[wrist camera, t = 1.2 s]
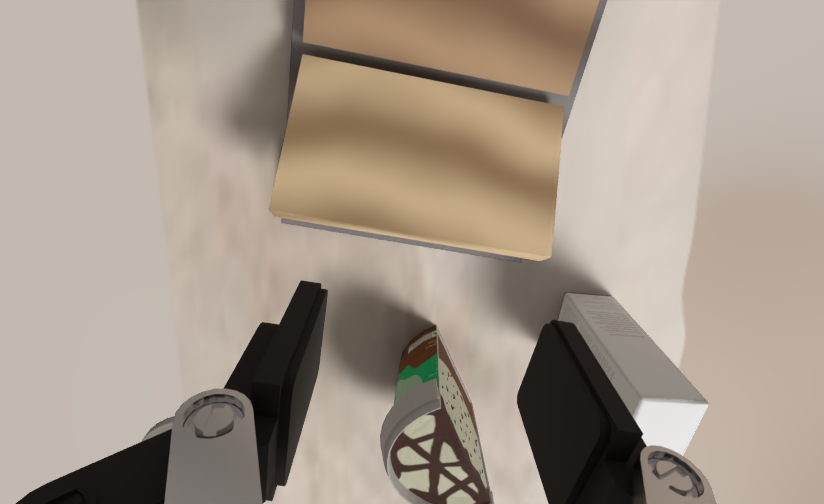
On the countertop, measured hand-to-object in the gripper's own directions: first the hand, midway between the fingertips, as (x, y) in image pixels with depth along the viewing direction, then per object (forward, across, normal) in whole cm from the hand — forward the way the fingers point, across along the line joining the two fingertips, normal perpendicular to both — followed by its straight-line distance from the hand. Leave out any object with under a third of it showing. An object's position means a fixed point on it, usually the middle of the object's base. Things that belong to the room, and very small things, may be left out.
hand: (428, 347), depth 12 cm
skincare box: (+20, -16, +10) cm, 27 cm away
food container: (+20, -4, +18) cm, 27 cm away
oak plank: (+16, 0, -2) cm, 16 cm away
